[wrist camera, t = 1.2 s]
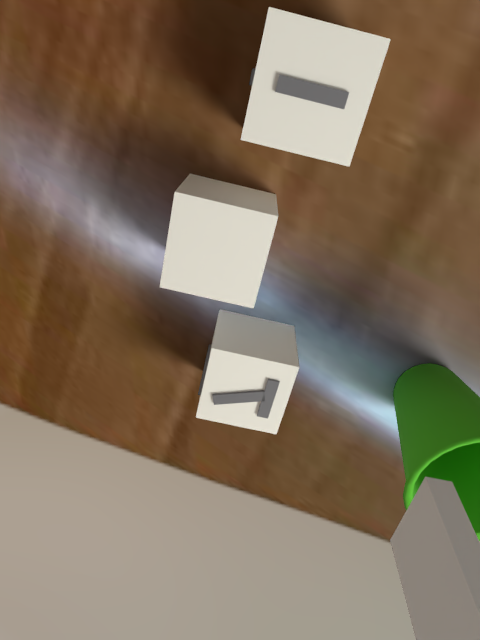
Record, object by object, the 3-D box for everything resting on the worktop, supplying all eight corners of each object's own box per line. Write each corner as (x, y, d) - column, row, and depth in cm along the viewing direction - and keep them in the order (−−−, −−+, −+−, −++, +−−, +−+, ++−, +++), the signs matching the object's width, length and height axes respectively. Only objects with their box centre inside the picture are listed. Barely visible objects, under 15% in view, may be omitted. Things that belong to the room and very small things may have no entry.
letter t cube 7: (217, 308, 36) (208, 349, 30) (294, 325, 36) (299, 368, 30) (202, 370, 38) (192, 418, 33) (274, 386, 39) (276, 436, 33)
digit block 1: (264, 21, 27) (264, 4, 21) (365, 48, 27) (391, 38, 22) (241, 129, 30) (236, 139, 24) (334, 151, 30) (349, 167, 24)
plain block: (190, 173, 31) (174, 191, 26) (275, 194, 31) (278, 216, 26) (176, 255, 34) (159, 287, 28) (255, 273, 34) (253, 308, 29)
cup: (460, 435, 40) (524, 549, 30) (358, 424, 40) (388, 534, 30) (497, 347, 36) (585, 446, 26) (383, 335, 36) (427, 429, 26)
